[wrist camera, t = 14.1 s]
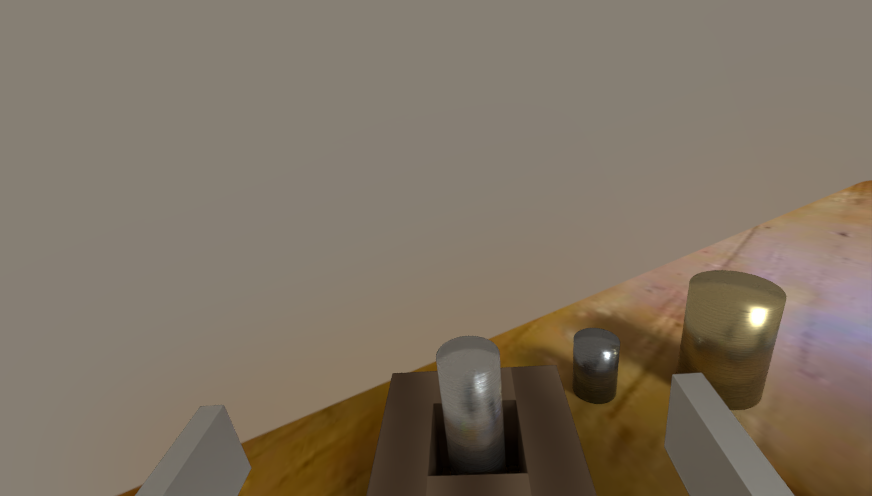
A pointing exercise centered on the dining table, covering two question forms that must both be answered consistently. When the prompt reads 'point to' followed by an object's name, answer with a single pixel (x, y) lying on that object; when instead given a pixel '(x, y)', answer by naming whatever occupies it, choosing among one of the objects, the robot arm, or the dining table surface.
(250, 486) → the dining table surface
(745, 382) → the fat brass roller
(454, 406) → the steel roller
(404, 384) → the walnut block
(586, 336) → the short dark roller
